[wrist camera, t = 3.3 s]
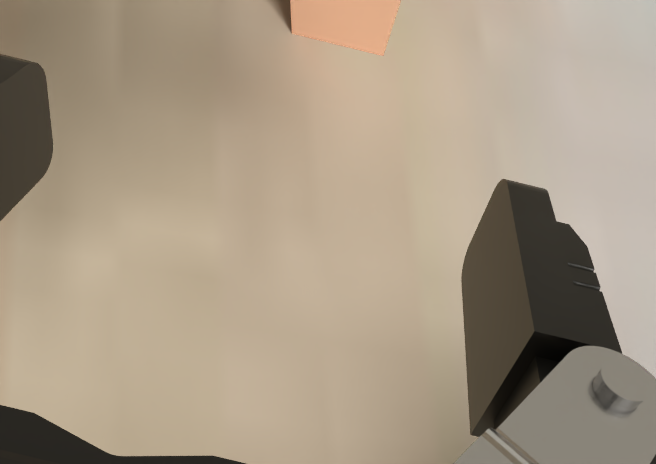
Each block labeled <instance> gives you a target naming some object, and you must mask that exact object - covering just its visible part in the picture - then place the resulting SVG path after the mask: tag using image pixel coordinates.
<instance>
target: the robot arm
mask: <svg viewBox="0 0 656 464" xmlns="http://www.w3.org/2000/svg"><path fill="white" fill-rule="evenodd" d="M52 152H53V139H52V130H51V120H50V111H49V101H48V92H47V83H46V76H45V73H44V70H43V68H42V67H41V66H40V65H39V64H38V63H35V62H31V61H27V60H23V59H19V58H15V57H10V56H6V55H2V54H0V221H1V220H2V219H3V218H4V217H5V216H6V215H7V214H8V213H9V212H10V211H11V209H12V208H13V207H14V206H15V205H16V204H17V203H18V202H19V201H20V200H21V199H22V198H23V197H24V196H25V195H26V194H27V193H28V192H29V191H30V190H31V189H32V188H33V187H34V186H35V185H36V184H37V183H38V182H39V180H40V179H41V178H42V177H43V176H44V175H45V173H46V171H47V169H48V167H49V165H50V162H51V158H52ZM593 271H594V266H593V263H592V260H591V257H590V254H589V251H588V248H587V246H586V245H585V243H584V242H583V241H582V240H581V239H580V237H579V236H578V235H577V234H576V233H575V231H574V230H573V229H572V228H571V226H570V225H569V224H565V223H561V222H556V219H555V215H554V212H553V208H552V204H551V201H550V197H549V194H548V191H547V190H546V189H543V188H539V187H535V186H530V185H526V184H522V183H518V182H514V181H510V180H506V179H502V180H501V181H500V182H499V183H498V184H497V186H496V188H495V190H494V192H493V194H492V196H491V198H490V201H489V203H488V205H487V207H486V209H485V212H484V214H483V216H482V218H481V220H480V223H479V225H478V227H477V229H476V231H475V234H474V236H473V238H472V240H471V242H470V245H469V247H468V250H467V252H466V256H465V259H464V264H463V269H462V297H463V314H464V331H465V348H466V365H467V383H468V400H469V417H470V434H471V435H474V436H478V437H479V438H478V439H477V440H476V441H475V442H474V443H473V444H472V445H471V446H470V447H469V448H468V449H467V450H466V451H465V452H464V453H463V454H462V455H461V456H460V457H459V458H458V459H457V460H456V461H455V462H454V464H656V379H655V377H654V376H653V375H652V374H650V373H649V372H648V371H647V370H646V369H645V368H644V367H642V366H641V365H640V364H638V363H637V362H635V361H634V360H632V359H631V358H629V357H627V356H625V355H623V354H622V351H621V348H620V345H619V342H618V339H617V336H616V333H615V330H614V327H613V324H612V321H611V318H610V315H609V312H608V309H607V306H606V303H605V300H604V296H603V293H602V292H600V291H599V290H600V284H599V281H598V278H597V275H596V273H593ZM0 464H245V463H241V462H237V461H233V460H229V459H224V458H220V457H216V456H115V455H111V454H109V453H106V452H104V451H102V450H101V449H99V448H97V447H95V446H93V445H91V444H90V443H88V442H86V441H84V440H82V439H81V438H79V437H77V436H75V435H73V434H71V433H70V432H68V431H66V430H64V429H62V428H60V427H59V426H57V425H55V424H53V423H51V422H49V421H48V420H46V419H44V418H42V417H40V416H38V415H37V414H35V413H31V412H27V411H23V410H19V409H15V408H10V407H6V406H2V405H0Z"/></svg>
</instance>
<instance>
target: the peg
mask: <svg viewBox="0 0 656 464" xmlns="http://www.w3.org/2000/svg"><path fill="white" fill-rule="evenodd" d="M400 2H401V0H290V4H291V26H292V34H296V35H300V36H304V37H308V38H313V39H317V40H321V41H325V42H329V43H333V44H337V45H341V46H345V47H349V48H353V49H357V50H361V51H366V52H370V53H374V54H378V55H382V56H383V55H384V52H385V49H386V46H387V43H388V39H389V36H390V33H391V30H392V27H393V24H394V21H395V18H396V15H397V12H398V9H399V5H400Z"/></svg>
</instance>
